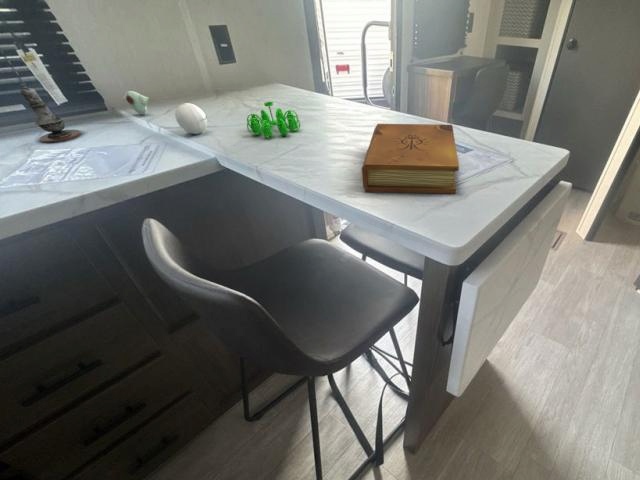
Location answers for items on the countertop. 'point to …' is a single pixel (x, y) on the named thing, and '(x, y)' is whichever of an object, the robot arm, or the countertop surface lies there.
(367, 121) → the countertop surface
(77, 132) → the coaster
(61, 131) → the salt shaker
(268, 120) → the chandelier
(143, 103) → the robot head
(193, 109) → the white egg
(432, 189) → the diary
